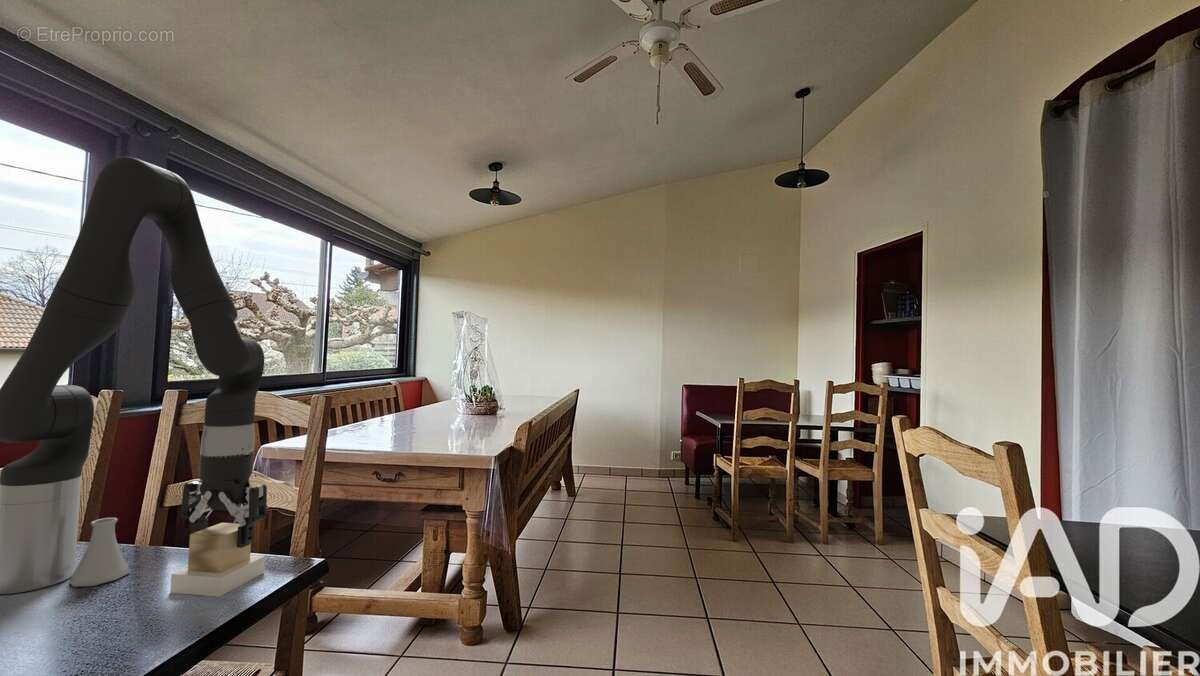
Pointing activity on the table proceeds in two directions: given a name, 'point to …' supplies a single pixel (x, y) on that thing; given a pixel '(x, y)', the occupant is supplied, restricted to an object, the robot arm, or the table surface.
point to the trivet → (216, 578)
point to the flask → (100, 557)
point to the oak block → (216, 549)
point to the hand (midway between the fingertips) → (221, 544)
